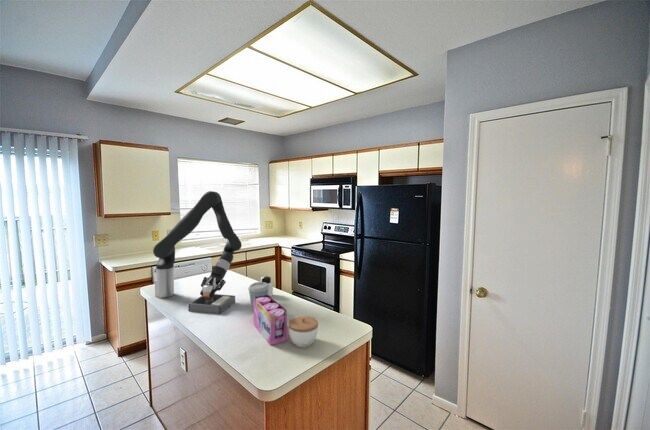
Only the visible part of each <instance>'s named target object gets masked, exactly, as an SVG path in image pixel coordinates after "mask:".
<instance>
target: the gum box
mask: <svg viewBox="0 0 650 430" xmlns="http://www.w3.org/2000/svg"><path fill="white" fill-rule="evenodd" d="M253 306H254V309H253V311H252V312H253V326H254V327H255V328H256V330H257V331H258V332H259V333H260V334H261V336H262V337H263V338H264V340H265V341H266V342H267V343H268V344H269V345H270V346H273V345H277V344H280V343H284V342H287V341H288V313H287V312H288V309H286V308H285V307H284V306H283V305H281V304H280V303H279V302H278V301H276V300H275V299H274V298H273V297H272V296H271V297H270V296H269V295H263V296H258V297H254V300H253Z"/></svg>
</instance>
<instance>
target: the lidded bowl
mask: <svg viewBox="0 0 650 430" xmlns="http://www.w3.org/2000/svg"><path fill="white" fill-rule="evenodd" d="M318 326H319V322H318V320H317V319H316V318H315V317H312V316H307V315H301V316H300V315H299V316H294V317H292V318H290V320H289V321H287V327H288V335H289V339H290V341H291V342H292V343H293V344H294V345H295V346H296V347H298V348H307V347H310V346H311V345H312V344H313V342H314V341H315V340H316V338H317V337H318V336H317V334H318V330H319V329H318V328H319V327H318Z"/></svg>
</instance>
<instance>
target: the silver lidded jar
mask: <svg viewBox="0 0 650 430" xmlns="http://www.w3.org/2000/svg"><path fill="white" fill-rule="evenodd" d="M202 288H203V304H205V305H211V304H212V303H214V296H213V297H210V296H209V295H210V293H211V291H212V289H213V284H209V283H208V284H205V285H203V287H202Z"/></svg>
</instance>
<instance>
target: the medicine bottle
mask: <svg viewBox="0 0 650 430" xmlns="http://www.w3.org/2000/svg"><path fill="white" fill-rule="evenodd" d="M271 280H272V278H271V277H270V276H267V275H266V276H261V278H260V282H266V283H267V284H268V286H269V288H268V294H267V295H269V296H270V297H272V296H273V290H274V287H273V286H274V283H271Z"/></svg>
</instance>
